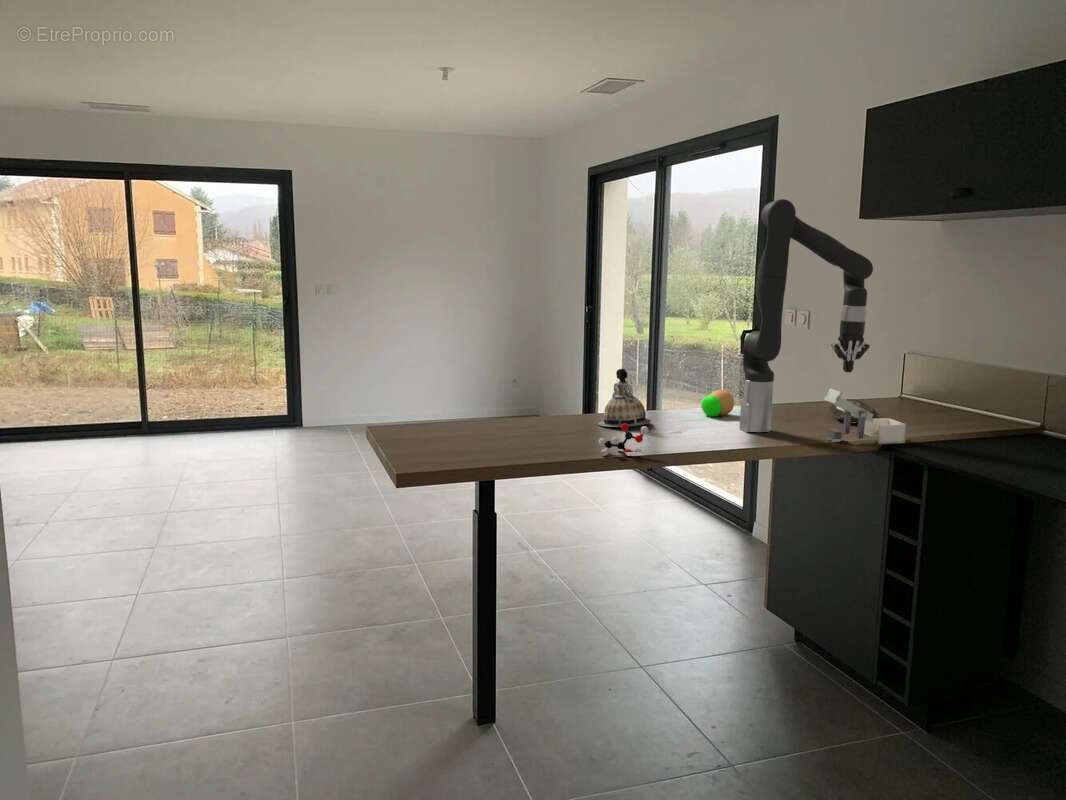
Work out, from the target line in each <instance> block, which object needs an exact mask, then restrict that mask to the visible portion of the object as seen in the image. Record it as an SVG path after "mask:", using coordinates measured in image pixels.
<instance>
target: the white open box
mask: <svg viewBox="0 0 1066 800" xmlns="http://www.w3.org/2000/svg"><path fill="white" fill-rule="evenodd" d="M873 420H874V421H873V422H869V421H866V420H865V429H864V434H866V435H869V436H872V437H875V438H877V440H878V444H877V445H886V444H887V445H889V444H905V443H906V437H907V427H908V424H907V423H904V422H901V421H898V420H895V419H892V418H890V417H889V418H885V417H884V418H883V417H882V418H880V419H873ZM878 429H879V431H878ZM877 431H878V435H876V434H874V433H877Z"/></svg>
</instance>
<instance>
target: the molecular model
mask: <svg viewBox="0 0 1066 800" xmlns="http://www.w3.org/2000/svg"><path fill="white" fill-rule="evenodd" d="M629 427H630V426H628V425H627V424H626V423H624V424H622V425H621V427H620V429H621V431H623V432H625V434H624V438H625V439H624V440H623V441H620V439H619V437H617V436H613V437H612V438H611V440H606V439H605V438H604V437H602V438H599V440H598V444H599V446H601V447H603V446H605V448H603V449H601V451H600V452H605V453H606V452H609V453H610V451H609V450H610V449H611V448H612V447H616V450H617V449H623V450H624V451H623V452H624V453H625V452H636V453H637V452H642V450H641V449H640V448H637V449H634V450H632V449H629V448H626V447H625V446H626V445H625V444H627V441H628V440H633V439H634V441H635V442H636V443H637V444H640V443H642V442H643V437H644V435H646V434H648V432H649V427H647V425H646V426H643V425H642V426H641V428H640V434H637V435H636V436H634V435H633V433H632V432H630V431H629ZM642 453H643V452H642Z"/></svg>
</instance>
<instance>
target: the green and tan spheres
mask: <svg viewBox="0 0 1066 800" xmlns="http://www.w3.org/2000/svg"><path fill="white" fill-rule="evenodd" d="M734 407H735V398H734V396H733V395H732V394H731V393H730V391H727V389H726V390H725V389H717V390H714V391H712V392H710V393H709V395H706V396H704V397H703V399H702V400H701V410H702V412H703V413H704V414H705V415H706V417H707V416H708V417H710V418H715V417H723V416H727V415H728V414H730V413H731V412H732V411H733V410H734Z"/></svg>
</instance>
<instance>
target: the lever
mask: <svg viewBox="0 0 1066 800" xmlns="http://www.w3.org/2000/svg"><path fill="white" fill-rule="evenodd" d="M842 395H843V391H842V392H841V391H839V390H836V389H833V388H829V390H828V391H827V394H826V395H825V397H824V401H826V402H828V403H830V404H834V405H836V406H837V409H839V410H841V411H843V412H844V410H846V411H848V412H849V413H851V415H852V416H854V417H857V418H859V411H860V410H864V409H862V408H860V407H858V406H856V405H854V404H853V403H851V402H849V401H847V400H846V398H845V399H844V398H842ZM864 411H866V410H864ZM866 415H867V417H866V418H865V420H866V421H869V422H873V421H874V420H873V419H871V418H872V417H873V415H874V414H872V413H870V412H868V411H866Z"/></svg>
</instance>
